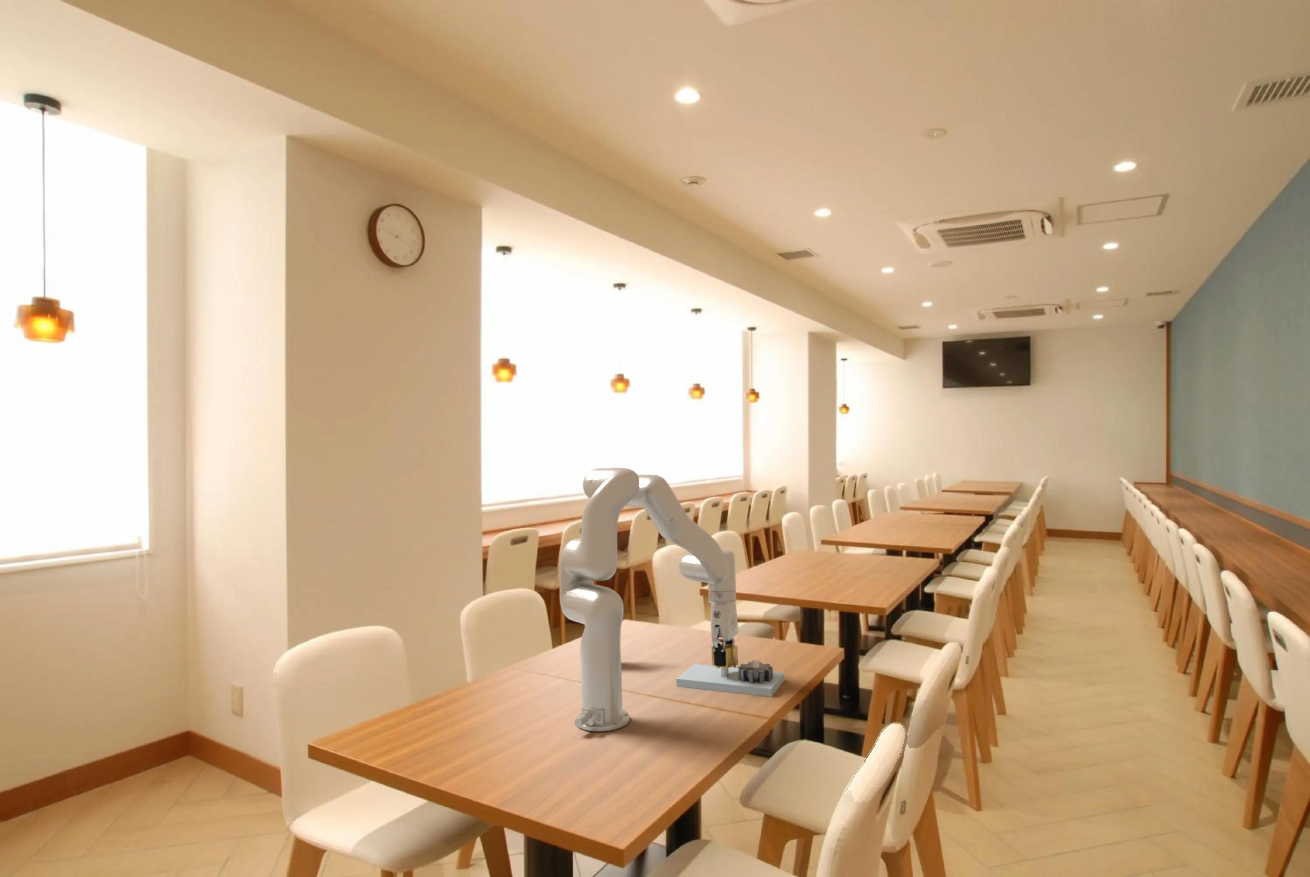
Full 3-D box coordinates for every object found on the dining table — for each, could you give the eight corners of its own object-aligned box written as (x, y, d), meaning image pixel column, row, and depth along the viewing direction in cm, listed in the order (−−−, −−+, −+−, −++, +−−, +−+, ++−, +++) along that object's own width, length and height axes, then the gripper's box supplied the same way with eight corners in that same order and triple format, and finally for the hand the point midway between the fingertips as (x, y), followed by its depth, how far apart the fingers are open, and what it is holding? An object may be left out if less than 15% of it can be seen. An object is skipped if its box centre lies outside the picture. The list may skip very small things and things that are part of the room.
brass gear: (733, 669, 187) (732, 650, 187) (708, 667, 190) (708, 648, 190) (740, 662, 193) (740, 644, 193) (717, 660, 196) (716, 642, 196)
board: (771, 696, 179) (770, 671, 179) (676, 686, 190) (675, 661, 190) (784, 680, 192) (783, 655, 192) (694, 671, 202) (694, 648, 203)
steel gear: (767, 685, 182) (767, 673, 182) (734, 681, 186) (734, 670, 186) (776, 674, 190) (775, 663, 190) (744, 671, 194) (744, 660, 194)
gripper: (725, 603, 182) (728, 672, 182) (744, 590, 198) (747, 654, 198) (698, 602, 186) (700, 670, 185) (719, 589, 201) (721, 652, 201)
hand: (724, 661), depth 192 cm, fingers closed on brass gear, 6 cm apart
